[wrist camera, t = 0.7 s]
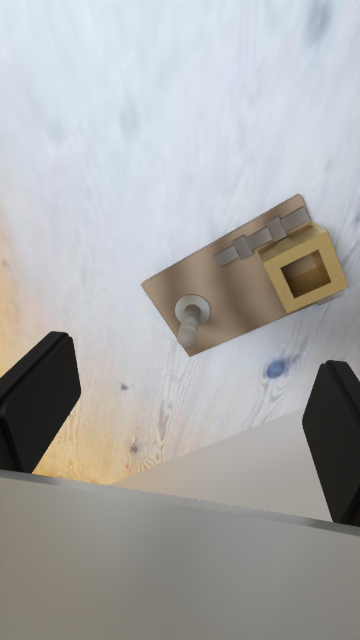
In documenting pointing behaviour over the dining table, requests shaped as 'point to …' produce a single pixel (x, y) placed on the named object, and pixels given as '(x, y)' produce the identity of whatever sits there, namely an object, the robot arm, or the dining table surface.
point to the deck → (229, 282)
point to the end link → (311, 282)
